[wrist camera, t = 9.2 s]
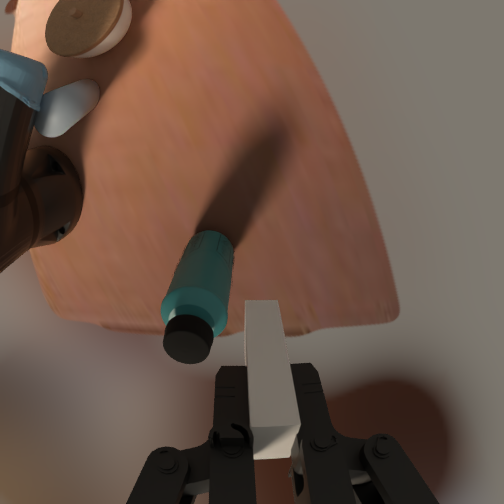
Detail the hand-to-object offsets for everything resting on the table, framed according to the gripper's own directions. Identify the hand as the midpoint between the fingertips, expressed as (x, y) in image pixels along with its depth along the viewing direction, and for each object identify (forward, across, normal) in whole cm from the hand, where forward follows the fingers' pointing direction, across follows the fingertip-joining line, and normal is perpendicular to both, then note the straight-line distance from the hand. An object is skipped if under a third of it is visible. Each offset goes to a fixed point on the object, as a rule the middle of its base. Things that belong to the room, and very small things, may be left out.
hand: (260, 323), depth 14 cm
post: (+27, -22, +14) cm, 37 cm away
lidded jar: (+27, -19, +24) cm, 41 cm away
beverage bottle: (+26, -4, -8) cm, 27 cm away
